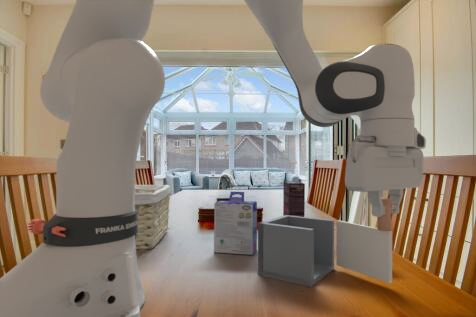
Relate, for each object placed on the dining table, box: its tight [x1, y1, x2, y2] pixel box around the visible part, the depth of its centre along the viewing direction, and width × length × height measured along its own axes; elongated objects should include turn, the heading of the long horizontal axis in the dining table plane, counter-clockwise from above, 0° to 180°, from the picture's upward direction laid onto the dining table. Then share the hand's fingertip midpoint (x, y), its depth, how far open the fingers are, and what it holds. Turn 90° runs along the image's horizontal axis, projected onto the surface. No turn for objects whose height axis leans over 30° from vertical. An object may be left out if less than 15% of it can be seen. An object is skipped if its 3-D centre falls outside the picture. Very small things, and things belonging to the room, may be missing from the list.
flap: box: [336, 197, 393, 284], centre depth 63 cm, size 12×2×14 cm, turn 31°
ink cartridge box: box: [213, 191, 258, 256], centre depth 81 cm, size 10×6×14 cm, turn 77°
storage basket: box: [135, 184, 171, 251], centre depth 93 cm, size 24×16×15 cm
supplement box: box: [282, 181, 306, 217], centre depth 98 cm, size 9×5×16 cm, turn 4°
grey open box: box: [257, 215, 335, 288], centre depth 66 cm, size 12×11×10 cm
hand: (385, 214), depth 59 cm, fingers open, 3 cm apart
